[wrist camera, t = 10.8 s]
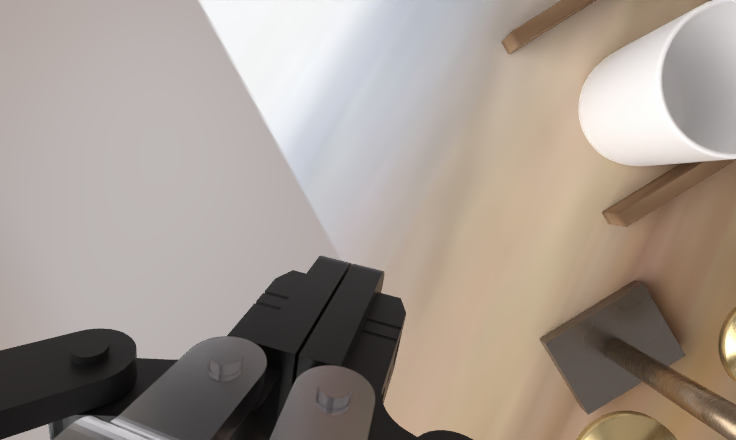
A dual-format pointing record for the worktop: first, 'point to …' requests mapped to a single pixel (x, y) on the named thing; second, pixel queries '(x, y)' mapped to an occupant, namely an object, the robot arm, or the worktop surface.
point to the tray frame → (655, 190)
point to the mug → (667, 93)
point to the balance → (635, 366)
